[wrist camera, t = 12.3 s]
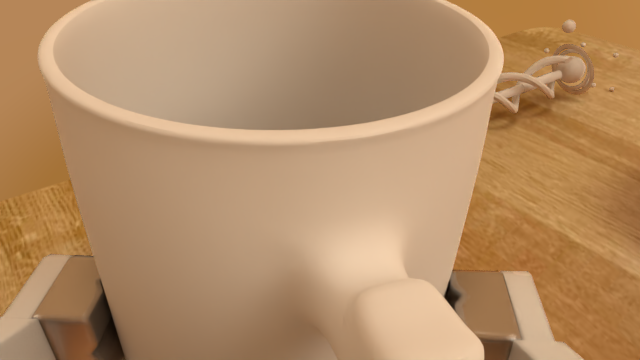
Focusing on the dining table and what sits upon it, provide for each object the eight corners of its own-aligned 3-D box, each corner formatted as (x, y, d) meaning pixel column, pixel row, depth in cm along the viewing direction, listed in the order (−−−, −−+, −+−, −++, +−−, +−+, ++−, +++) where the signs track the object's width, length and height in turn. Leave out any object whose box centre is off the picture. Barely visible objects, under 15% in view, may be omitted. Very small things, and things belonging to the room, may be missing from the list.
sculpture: (325, 159, 47) (575, 67, 58) (355, 202, 44) (612, 96, 55) (332, 93, 41) (607, 4, 52) (367, 137, 39) (651, 33, 49)
